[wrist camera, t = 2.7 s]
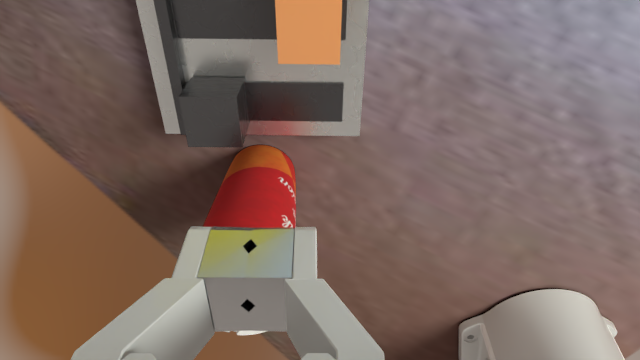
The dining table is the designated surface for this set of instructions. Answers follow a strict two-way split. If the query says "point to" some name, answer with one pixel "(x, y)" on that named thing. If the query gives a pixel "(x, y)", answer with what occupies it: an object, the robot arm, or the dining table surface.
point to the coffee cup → (256, 193)
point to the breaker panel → (248, 73)
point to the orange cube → (308, 31)
